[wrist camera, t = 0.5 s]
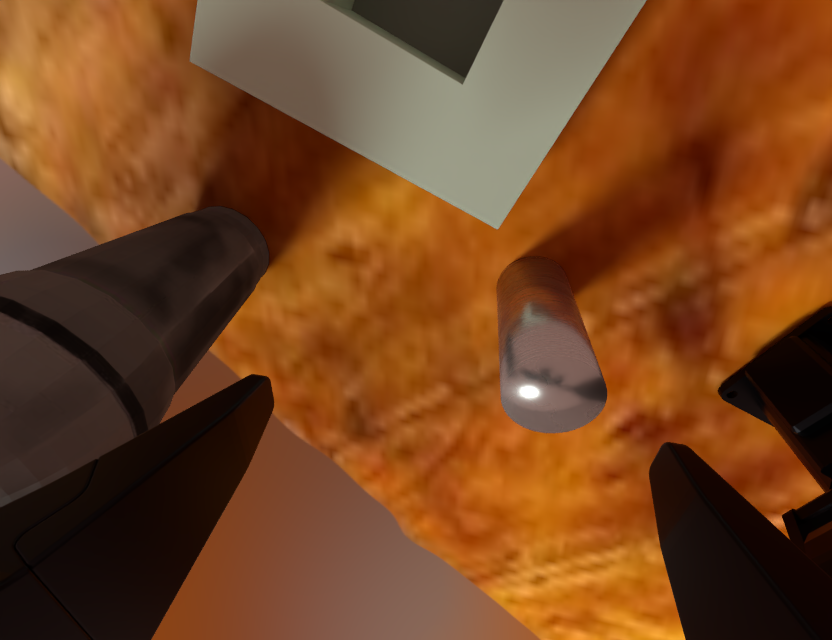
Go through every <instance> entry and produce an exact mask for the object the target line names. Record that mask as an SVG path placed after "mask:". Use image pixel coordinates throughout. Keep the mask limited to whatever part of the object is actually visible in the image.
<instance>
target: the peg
mask: <svg viewBox="0 0 832 640" xmlns="http://www.w3.org/2000/svg"><path fill="white" fill-rule="evenodd" d="M497 311H498V336H499V361H500V386H501V402H502V406H503V408H504V410H505V412H506V413H507V415H508V416H509V417H510V418H511V419H512V420H513V421H515V422H516V423H517V424H519V425H521V426H523V427H525V428H527V429H530V430H533V431H537V432H543V433H561V432H567V431H571V430H575V429H577V428H580V427H582V426H584V425H586V424H588V423H589V422H591V421H592V420H593V419H595V418H596V417H597V416H598V415H599V413H600V412H601V411H602V409H603V407H604V406H605V403H606V400H607V388H606V384H605V381H604V379H603V376H602V373H601V370H600V368H599V365H598V362H597V359H596V356H595V354H594V351H593V348H592V345H591V343H590V340H589V337H588V334H587V331H586V329H585V326H584V323H583V320H582V318H581V315H580V312H579V309H578V306H577V304H576V301H575V298H574V295H573V293H572V290H571V287H570V284H569V282H568V279H567V276H566V274H565V272H564V270H563V269H562V268H561V267H560V266H559V265H558V264H557V263H556V262H554V261H552V260H550V259H548V258H544V257H537V256H533V257H525V258H522V259H519V260H517V261H515V262H513V263H511V264H510V265H509V266H508V267H507V268H505V270H504V271H503V272H502V273H501V275H500V277H499V279H498V283H497Z"/></svg>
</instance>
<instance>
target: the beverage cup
mask: <svg viewBox="0 0 832 640" xmlns="http://www.w3.org/2000/svg"><path fill="white" fill-rule="evenodd" d="M268 265H269V251H268V248H267V244H266V241H265V239H264V237H263V236H262V234H261V232H260V231H259V229H258V228H257V227H256V226H255V225H254V224H253V223H252V222H251V221H250V220H249V219H248V218H247V217H245V216H244V215H242V214H240V213H239V212H237V211H235V210H233V209H229V208H225V207H222V206H215V207H207V208H205V209H203V210H199V211H196V212H193V213H186V214H183V215H180V216H177V217H175V218H172V219H169V220H167V221H164V222H161V223H158V224H156V225H153V226H150V227H147V228H145V229H142V230H139V231H136V232H134V233H131V234H128V235H126V236H123V237H120V238H117V239H115V240H112V241H109V242H106V243H104V244H101V245H98V246H95V247H93V248H90V249H87V250H85V251H82V252H79V253H76V254H74V255H71V256H68V257H65V258H63V259H60V260H57V261H54V262H52V263H49V264H46V265H44V266H41V267H38V268H35V269H33V270H30V271H15V272H10V273H6V274H2V275H0V507H2V506H4V505H6V504H8V503H11V502H13V501H15V500H17V499H19V498H21V497H23V496H25V495H27V494H29V493H31V492H33V491H35V490H37V489H39V488H41V487H43V486H45V485H47V484H49V483H51V482H53V481H55V480H57V479H59V478H61V477H63V476H64V475H66V474H68V473H70V472H72V471H74V470H76V469H78V468H80V467H81V466H83V465H85V464H87V463H89V462H91V461H92V460H94V459H99V457H100V456H102V455H104V454H105V453H107V452H109V451H111V450H113V449H115V448H117V447H118V446H120V445H122V444H124V443H126V442H128V441H129V440H131V439H133V438H135V437H137V436H139V435H140V434H142V433H144V432H146V431H148V430H150V429H151V428H153V427H155V426H157V425H159V424H160V422H161V420H162V418H163V416H164V415H165V413H166V411H167V410H168V408H169V406H170V404H171V401H172V398H173V395H174V394H175V392H176V391H177V390H178V389H179V387H180V386H181V385H182V384H183V382H184V381H185V380H186V378H187V377H188V376H189V374H190V373H191V372H192V370H193V369H194V368H195V367H196V365H197V364H198V363H199V361H200V360H201V359H202V357H203V356H204V355H205V353H206V352H207V351H208V350H209V348H210V347H211V346H212V344H213V343H214V342H215V340H216V339H217V338H218V336H219V335H220V334H221V332H222V331H223V330H224V329H225V327H226V326H227V325H228V323H229V322H230V321H231V319H232V318H233V317H234V315H235V314H236V313H237V312H238V310H239V309H240V308H241V306H242V305H243V304H244V302H245V301H246V300H247V298H248V297H249V296H250V295H251V293H252V292H253V291H254V289H255V287H256V284H257V283H258V282H259V280H260V278H261V277H262V276H263V275H264V274H265V272H266V269H267V267H268Z"/></svg>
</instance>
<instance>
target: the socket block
mask: <svg viewBox="0 0 832 640" xmlns="http://www.w3.org/2000/svg"><path fill="white" fill-rule="evenodd" d="M646 1H647V0H198V2H197V9H196V17H195V24H194V32H193V39H192V47H191V54H190V62H192V63H194V64H196V65H197V66H199V67H201V68H203V69H205V70H207V71H208V72H210V73H212V74H214V75H216V76H218V77H219V78H221V79H223V80H225V81H227V82H229V83H230V84H232V85H234V86H236V87H238V88H240V89H241V90H243V91H245V92H247V93H249V94H251V95H252V96H254V97H256V98H258V99H260V100H262V101H263V102H265V103H267V104H269V105H271V106H273V107H274V108H276V109H278V110H280V111H282V112H284V113H285V114H287V115H289V116H291V117H293V118H295V119H296V120H298V121H300V122H302V123H304V124H305V125H307V126H309V127H311V128H313V129H315V130H316V131H318V132H320V133H322V134H324V135H326V136H327V137H329V138H331V139H333V140H335V141H337V142H338V143H340V144H342V145H344V146H346V147H348V148H349V149H351V150H353V151H355V152H357V153H359V154H360V155H362V156H364V157H366V158H368V159H370V160H371V161H373V162H375V163H377V164H379V165H381V166H382V167H384V168H386V169H388V170H390V171H392V172H393V173H395V174H397V175H399V176H401V177H402V178H404V179H406V180H408V181H410V182H412V183H413V184H415V185H417V186H419V187H421V188H423V189H424V190H426V191H428V192H430V193H432V194H434V195H435V196H437V197H439V198H441V199H443V200H445V201H446V202H448V203H450V204H452V205H454V206H456V207H457V208H459V209H461V210H463V211H465V212H467V213H468V214H470V215H472V216H474V217H476V218H478V219H479V220H481V221H483V222H485V223H487V224H489V225H490V226H492V227H494V228H496V229H498V228H499V227H500V225H501V224H502V222H503V221H504V219H505V218H506V216H507V214H508V213H509V211H510V210H511V208H512V207H513V205H514V204H515V202H516V201H517V199H518V198H519V196H520V194H521V193H522V191H523V190H524V188H525V187H526V185H527V184H528V182H529V181H530V179H531V178H532V176H533V174H534V173H535V171H536V170H537V168H538V167H539V165H540V164H541V162H542V161H543V159H544V158H545V156H546V154H547V153H548V151H549V150H550V148H551V147H552V145H553V144H554V142H555V141H556V139H557V138H558V136H559V134H560V133H561V131H562V130H563V128H564V127H565V125H566V124H567V122H568V121H569V119H570V117H571V116H572V114H573V113H574V111H575V110H576V108H577V107H578V105H579V104H580V102H581V101H582V99H583V97H584V96H585V94H586V93H587V91H588V90H589V88H590V87H591V85H592V84H593V82H594V81H595V79H596V77H597V76H598V74H599V73H600V71H601V70H602V68H603V67H604V65H605V64H606V62H607V61H608V59H609V57H610V56H611V54H612V53H613V51H614V50H615V48H616V47H617V45H618V44H619V42H620V41H621V39H622V37H623V36H624V34H625V33H626V31H627V30H628V28H629V27H630V25H631V24H632V22H633V21H634V19H635V17H636V16H637V14H638V13H639V11H640V10H641V8H642V7H643V5H644V4H645V2H646Z"/></svg>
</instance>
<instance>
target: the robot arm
mask: <svg viewBox="0 0 832 640" xmlns="http://www.w3.org/2000/svg"><path fill="white" fill-rule="evenodd" d="M830 317H832V306H830V307H827V308H824V309H822V310H821V311H819V312H818V313H817V314H815V315H814V316H813V317H811V318H810V319H809V320H807V321H806V322H805V323H803V324H802V325H801V326H799V327H798V328H797V329H795V330H794V331H793V332H791V333H790V334H789V335H788V336H786V337H785V338H784V339H782V340H781V341H780V342H778V343H777V344H776V345H774V346H773V347H772V348H770V349H769V350H768V351H766V352H765V353H764V354H762V355H761V356H760V357H758V358H757V359H756V360H754V361H753V362H752V363H750V364H749V365H748V366H747V367H745V368H744V369H743V370H741V371H740V372H739V373H737V374H736V375H735V376H733V377H732V378H731V379H729V380H728V381H727V382H725V383H724V384H723V385H721V386H720V387H719V389H718V394H719V395H720V396H721V398H722V399H723V400H724V401H726V402H728V403H730V404H732V405H734V406H736V407H737V408H739V409H741V410H743V411H745V412H747V413H749V414H751V415H753V416H754V417H756V418H758V419H760V420H762V421H764V422H766V423H768V424H770V425H772V426H773V427H775V429H776V430H777V431H778V432H779V434H780V435H781V436H782V438H783V439H784V440H785V441H786V443H787V444H788V445H789V447H790V448H791V449H792V451H793V452H794V453H795V454H796V456H797V457H798V458H799V460H800V461H801V462H802V463H803V465H804V466H805V467H806V469H807V470H808V471H809V472H810V474H811V475H812V476H813V478H814V479H815V480H816V482H817V483H818V484H819V485H820V487H821V488H822V489H823V491H824V492H825V493H824V494H822V495H820V496H819V497H817V498H815V499H813V500H812V501H810V502H808V503H807V504H805V505H803V506H802V507H800V508H798V509H797V510H795V509H791V510H790V511H788V512H786V513H785V514H783V515H782V518H783V521H784V523H785V526H786V529H787V532H788V535H789V538H790V540H789V539H788V538H787V537H786V536H785V535H784V534H783V533H782V532H781V531H780V530H779V529H777V528H776V527H775V526H774V525H773V524H772V523H771V522H770V521H769V520H768V519H767V518H766V517H764V516H763V515H762V514H761V513H760V512H759V511H758V510H757V509H756V508H755V507H754V506H752V505H751V504H750V503H749V502H748V501H747V500H746V499H745V498H744V497H743V496H742V495H740V494H739V493H738V492H737V491H736V490H735V489H734V488H733V487H732V486H731V485H730V484H729V483H727V482H726V481H725V480H724V479H723V478H722V477H721V476H720V475H719V474H718V473H717V472H715V471H714V470H713V469H712V468H711V467H710V466H709V465H708V464H707V463H706V462H705V461H703V460H702V459H701V458H700V457H699V456H698V455H697V454H696V453H695V452H694V451H693V450H692V449H690V448H689V447H688V446H686V445H683V444H677V443H671V442H666V443H664V444H663V445H662V446H661V448H660V450H659V451H658V453H657V455H656V457H655V459H654V460H653V462H652V464H651V466H650V470H649V479H650V485H651V491H652V498H653V504H654V510H655V517H656V523H657V529H658V535H659V541H660V546H661V550H662V554H663V558H664V562H665V566H666V569H667V573H668V577H669V580H670V584H671V588H672V591H673V595H674V599H675V602H676V606H677V610H678V613H679V617H680V621H681V624H682V628H683V632H684V635H685V639H686V640H832V319H830V320H828V319H829V318H830ZM731 391H732V392H731ZM729 392H730V393H729ZM273 408H274V397H273V392H272V387H271V381H270V379H269V378H268V377H267V376H262V375H256V374H252V375H249V376H247V377H245V378H243V379H242V380H240V381H238V382H236V383H234V384H233V385H231V386H229V387H227V388H225V389H223V390H222V391H219V392H218V393H216V394H214V395H212V396H210V397H209V398H207V399H205V400H203V401H201V402H199V403H197V404H196V405H194V406H192V407H190V408H188V409H186V410H185V411H183V412H181V413H179V414H177V415H175V416H174V417H172V418H170V419H168V420H166V421H165V422H163V423H161V424H159V425H157V426H155V427H153V428H151V429H150V430H148V431H146V432H144V433H142V434H140V435H139V436H137V437H135V438H133V439H131V440H129V441H128V442H126V443H124V444H122V445H120V446H118V447H117V448H115V449H113V450H111V451H109V452H107V453H105V454H104V455H102V456H100V457H99V459H94V460H92V461H91V462H89V463H87V464H85V465H83V466H81V467H80V468H78V469H76V470H74V471H72V472H70V473H68V474H66V475H64V476H63V477H61V478H59V479H57V480H55V481H53V482H51V483H49V484H47V485H45V486H43V487H41V488H39V489H37V490H35V491H33V492H31V493H29V494H27V495H25V496H23V497H21V498H19V499H17V500H15V501H13V502H11V503H8V504H6V505H4V506H2V507H0V640H151V639H152V637H153V635H154V634H155V632H156V630H157V628H158V627H159V625H160V623H161V621H162V619H163V617H164V616H165V614H166V612H167V611H168V609H169V607H170V605H171V604H172V602H173V600H174V598H175V596H176V595H177V593H178V591H179V589H180V588H181V586H182V584H183V582H184V581H185V579H186V577H187V575H188V573H189V572H190V570H191V568H192V566H193V565H194V563H195V561H196V559H197V557H198V556H199V554H200V552H201V550H202V548H203V547H204V545H205V543H206V541H207V540H208V538H209V536H210V534H211V533H212V531H213V529H214V527H215V526H216V524H217V522H218V520H219V519H220V517H221V515H222V513H223V511H224V510H225V508H226V506H227V504H228V503H229V501H230V499H231V497H232V495H233V494H234V492H235V490H236V488H237V487H238V485H239V483H240V481H241V480H242V478H243V476H244V474H245V472H246V470H247V468H248V467H249V464H250V462H251V460H252V458H253V455H254V453H255V451H256V449H257V446H258V444H259V441H260V439H261V437H262V435H263V432H264V430H265V428H266V425H267V423H268V421H269V418H270V416H271V414H272V411H273Z"/></svg>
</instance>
